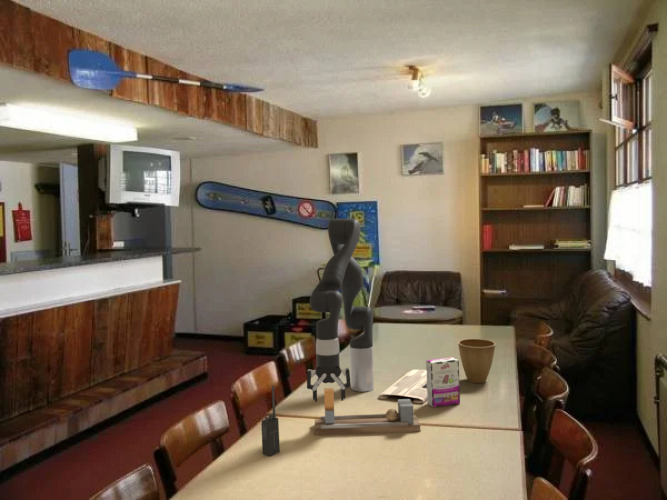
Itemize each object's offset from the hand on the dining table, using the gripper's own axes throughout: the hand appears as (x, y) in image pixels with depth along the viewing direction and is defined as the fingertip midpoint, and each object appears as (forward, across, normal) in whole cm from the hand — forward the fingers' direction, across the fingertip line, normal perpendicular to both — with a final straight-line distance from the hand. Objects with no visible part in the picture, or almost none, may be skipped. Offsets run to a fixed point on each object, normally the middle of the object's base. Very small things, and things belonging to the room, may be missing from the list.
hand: (329, 400), depth 188 cm
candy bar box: (+10, -42, -21) cm, 48 cm away
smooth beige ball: (+6, -20, 0) cm, 21 cm away
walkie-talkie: (+10, +18, +17) cm, 27 cm away
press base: (+10, -12, 0) cm, 15 cm away
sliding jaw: (+7, 0, 0) cm, 7 cm away
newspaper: (+10, -35, -43) cm, 56 cm away
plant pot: (+10, -62, -48) cm, 79 cm away
